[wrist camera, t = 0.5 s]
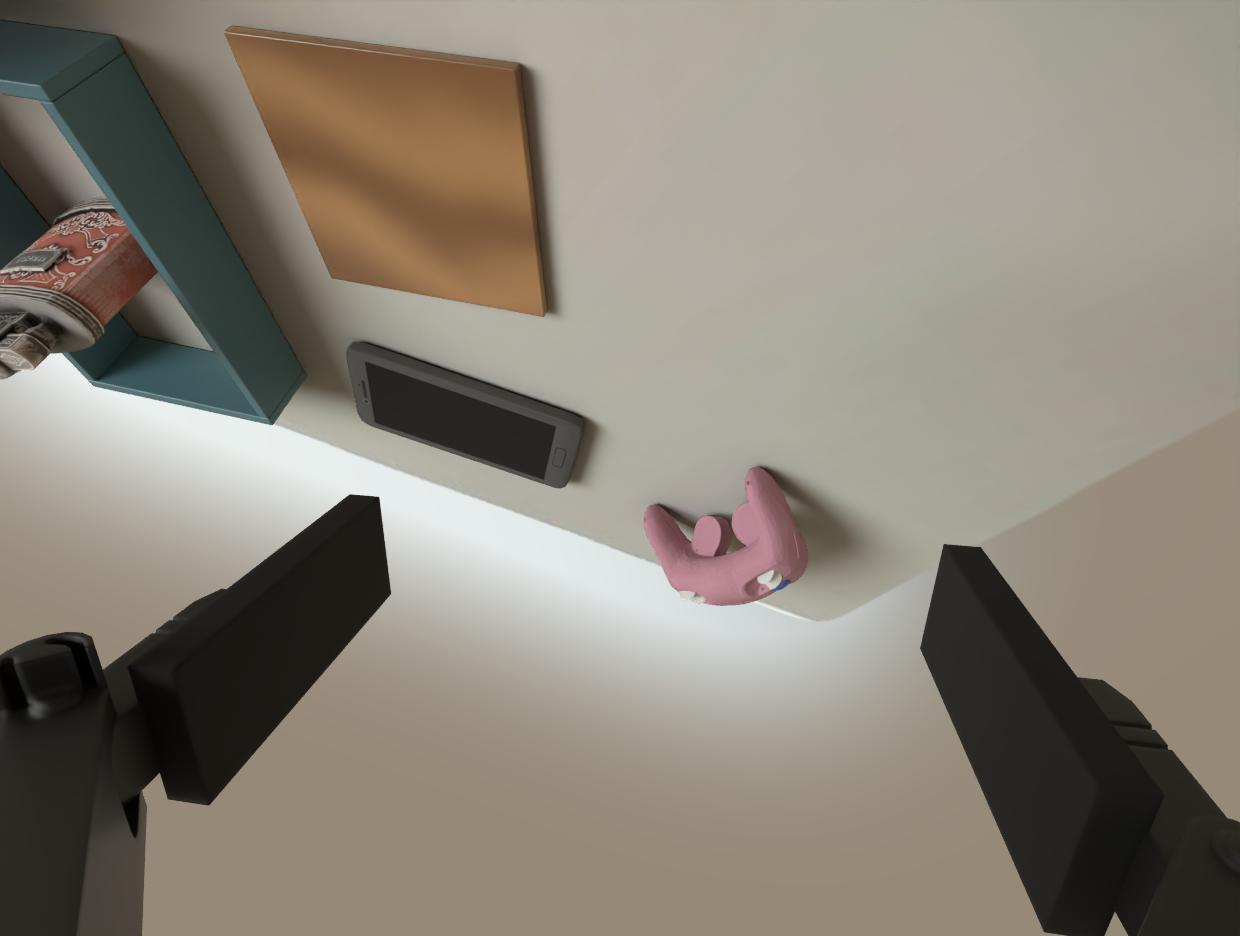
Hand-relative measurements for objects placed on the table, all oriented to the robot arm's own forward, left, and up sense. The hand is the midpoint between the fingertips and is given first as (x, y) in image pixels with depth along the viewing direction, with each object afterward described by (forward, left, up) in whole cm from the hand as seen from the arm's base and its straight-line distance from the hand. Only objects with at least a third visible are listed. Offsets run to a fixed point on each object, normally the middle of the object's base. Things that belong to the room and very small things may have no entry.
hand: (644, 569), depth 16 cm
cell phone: (+17, -14, -16) cm, 27 cm away
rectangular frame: (+7, -31, -16) cm, 35 cm away
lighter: (+7, -31, -16) cm, 35 cm away
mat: (+2, -14, -16) cm, 21 cm away
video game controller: (+21, +2, -16) cm, 26 cm away
